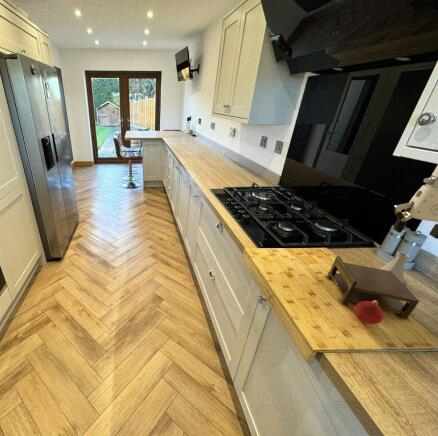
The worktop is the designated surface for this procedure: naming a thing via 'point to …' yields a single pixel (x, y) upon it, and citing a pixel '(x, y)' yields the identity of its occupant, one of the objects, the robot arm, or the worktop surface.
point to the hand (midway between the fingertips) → (414, 233)
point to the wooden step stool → (372, 287)
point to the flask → (397, 265)
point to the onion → (369, 312)
